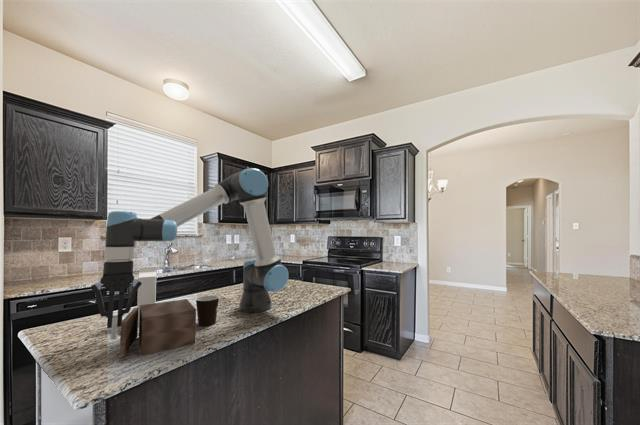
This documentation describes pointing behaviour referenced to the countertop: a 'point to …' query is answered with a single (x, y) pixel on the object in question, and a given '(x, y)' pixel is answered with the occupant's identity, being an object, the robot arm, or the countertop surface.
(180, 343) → the cabinet
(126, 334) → the door
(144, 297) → the milk
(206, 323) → the coffee mug
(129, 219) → the robot arm
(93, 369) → the countertop surface
